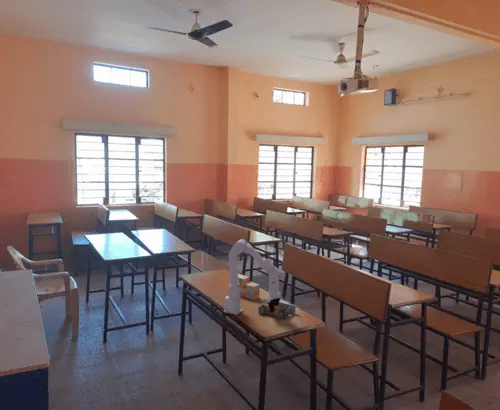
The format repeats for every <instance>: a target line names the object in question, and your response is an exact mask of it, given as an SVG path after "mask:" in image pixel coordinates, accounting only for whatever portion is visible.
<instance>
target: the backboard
mask: <svg viewBox="0 0 500 410" xmlns="http://www.w3.org/2000/svg"><path fill="white" fill-rule="evenodd" d="M264 303H267V298H263V304H264ZM278 306H281V307H286V308H287V309H289V314H294V315H296V311H297V310H296V308H297V306H296V304H295V305H294V304H292V303H287V302H283V301H279V304H278Z"/></svg>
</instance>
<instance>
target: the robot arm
mask: <svg viewBox="0 0 500 410" xmlns="http://www.w3.org/2000/svg"><path fill="white" fill-rule="evenodd" d="M241 253H244V254H249V255H250V256H252V258H254V260H256V261H257V262H258V264H259V267H260V268H261V269H262V270H263V271H264V272H265V273H266V274H268V277H269V281H268V282H269V283H268V296H267V298H266V299H267V303H268V305H269V309H270V312H274V307H275V305H277V306H278V304H279V302H281V299H282V296H281V294H282V292H281V291H280V277H279V276H280V269H279V268H278V266H277V267H276V266H275V265H274V264H273V263H272V262H270V259H267V258H263V257H262V256H261V254H260V253H259V252H258V251H257V250H256V249H255V248H254V247H253V246H252V244H251V243H250V242H248V241H247V240H246V239H244V238H241V239H238V240H237V241H235V243H234V244H233V246H232V247H231V249H230V250H229V252H228V271H229V287H228V289H229V290H228V291H227V295H226V296H225V298H224V300H223V303H224V304H223V312H224V313H226V314H231V315H235V316H237V315H239V314H240V313H241V312H244V309H243V308H241V307H242V306H241V300H242V298H241V297H242V296H240V294H239V293H240V292H241V287H240V285H239V281H238V274H239V270H238V269H239V268H238V266H239V265H238V256H239V254H241Z"/></svg>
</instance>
